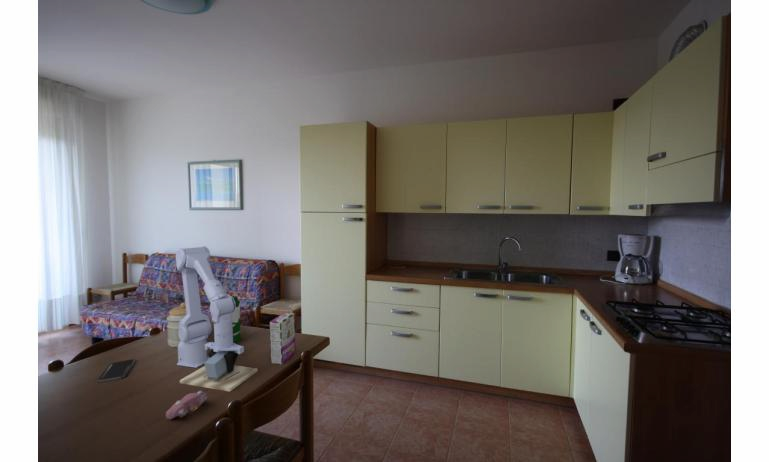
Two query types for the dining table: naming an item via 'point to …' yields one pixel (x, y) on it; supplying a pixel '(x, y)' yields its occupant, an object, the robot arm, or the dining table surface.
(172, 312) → the jar
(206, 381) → the marked board
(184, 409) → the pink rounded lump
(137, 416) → the dining table surface
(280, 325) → the candy bar box
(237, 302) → the milk carton
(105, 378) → the phone
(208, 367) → the block
